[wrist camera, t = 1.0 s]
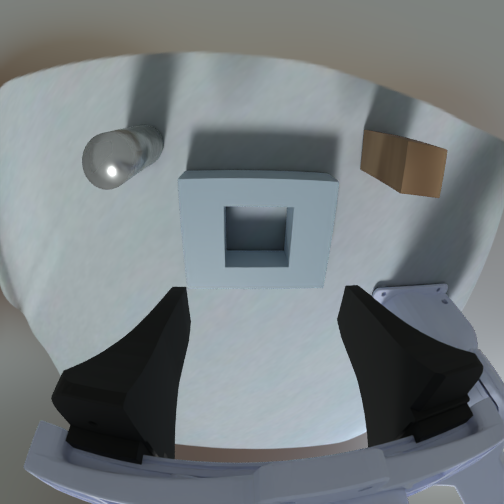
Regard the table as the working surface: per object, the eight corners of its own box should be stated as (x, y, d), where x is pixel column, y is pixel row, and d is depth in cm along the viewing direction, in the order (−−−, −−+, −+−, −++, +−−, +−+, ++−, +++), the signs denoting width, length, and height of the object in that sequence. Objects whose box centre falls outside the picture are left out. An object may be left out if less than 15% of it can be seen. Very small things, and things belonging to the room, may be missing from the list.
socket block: (328, 173, 19) (339, 182, 17) (315, 270, 23) (323, 287, 21) (185, 170, 19) (177, 179, 17) (192, 270, 23) (187, 288, 20)
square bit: (398, 135, 18) (447, 149, 13) (394, 173, 19) (439, 198, 14) (364, 129, 18) (408, 140, 12) (360, 169, 19) (400, 193, 14)
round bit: (162, 122, 17) (130, 129, 12) (164, 164, 18) (134, 187, 13) (122, 127, 17) (79, 137, 12) (125, 167, 18) (85, 191, 13)
